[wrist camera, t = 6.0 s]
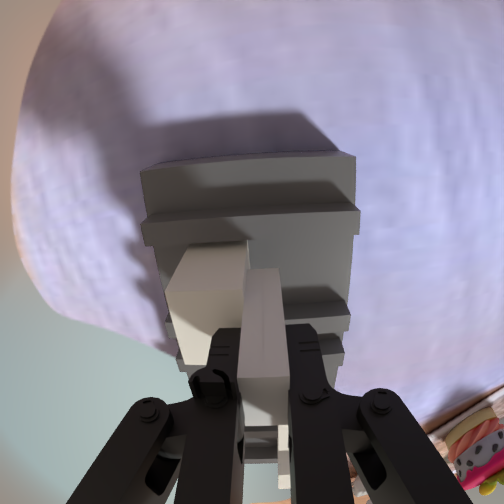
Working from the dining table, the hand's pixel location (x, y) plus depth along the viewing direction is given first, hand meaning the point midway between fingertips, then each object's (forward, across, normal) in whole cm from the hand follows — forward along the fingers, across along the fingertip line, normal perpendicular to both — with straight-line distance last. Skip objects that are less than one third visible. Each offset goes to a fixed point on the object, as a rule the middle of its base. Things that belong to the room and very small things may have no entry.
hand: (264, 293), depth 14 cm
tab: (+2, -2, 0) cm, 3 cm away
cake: (+6, +33, -34) cm, 48 cm away
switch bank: (+5, 0, -9) cm, 11 cm away
